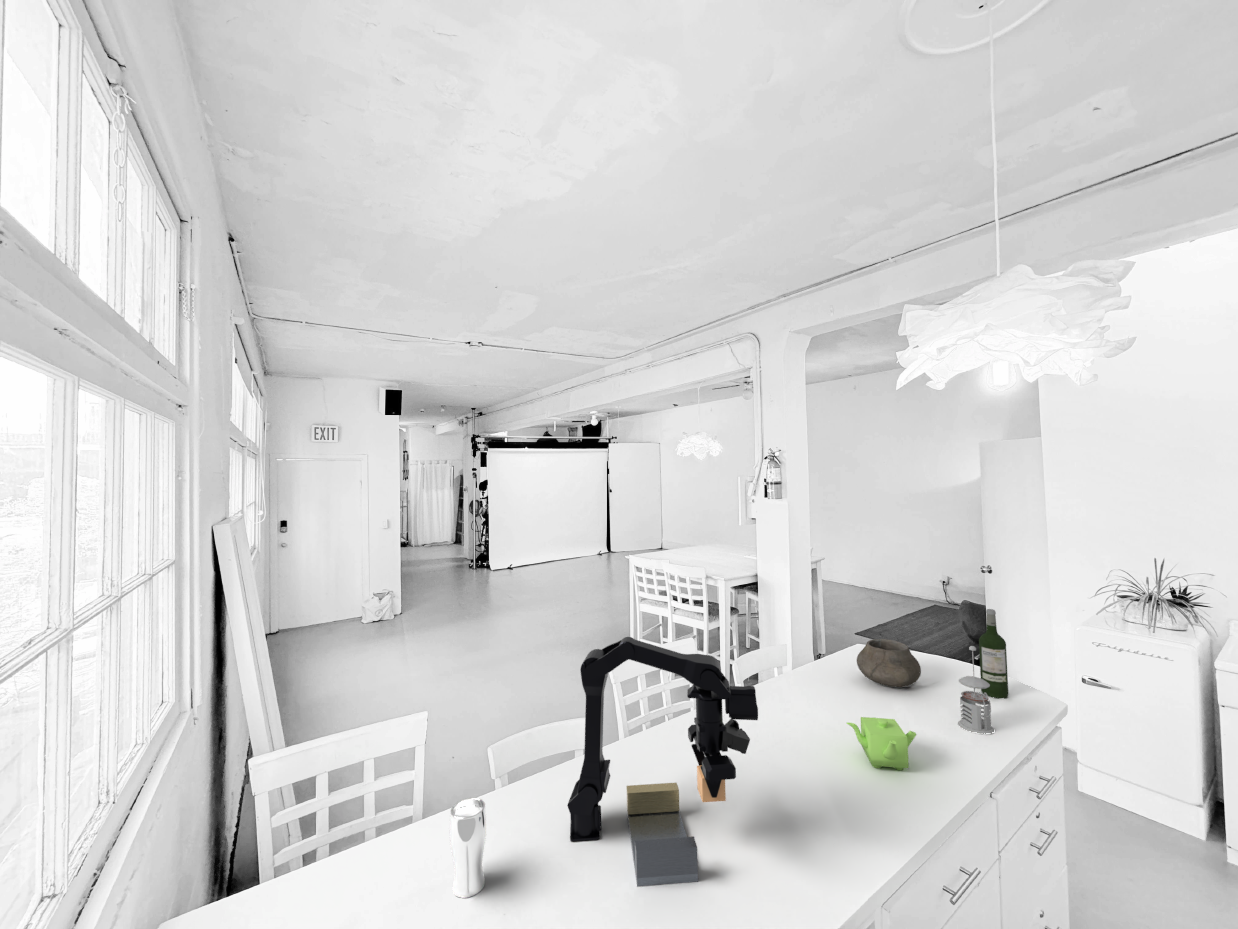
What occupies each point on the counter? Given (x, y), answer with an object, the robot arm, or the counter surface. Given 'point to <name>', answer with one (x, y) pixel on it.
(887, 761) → the kettle
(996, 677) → the wine bottle
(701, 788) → the block
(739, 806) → the counter surface
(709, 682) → the robot arm
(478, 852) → the beer glass
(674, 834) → the vise bed
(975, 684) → the french press
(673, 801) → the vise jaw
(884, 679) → the clay pot
